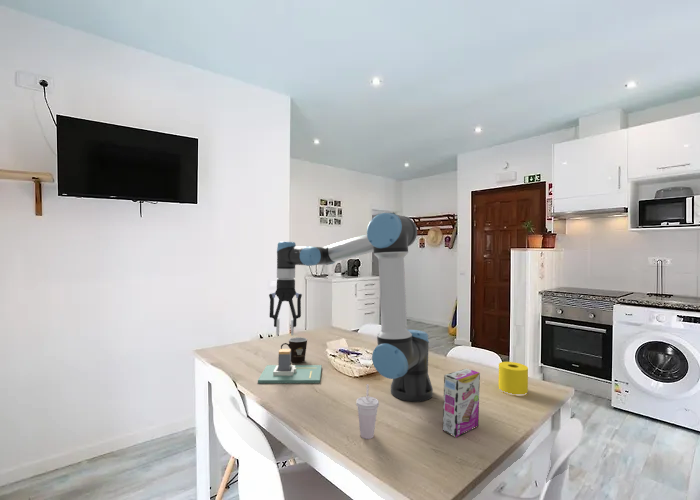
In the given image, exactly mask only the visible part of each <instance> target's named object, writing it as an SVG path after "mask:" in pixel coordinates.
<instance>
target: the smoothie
mask: <svg viewBox="0 0 700 500" xmlns="http://www.w3.org/2000/svg"><path fill="white" fill-rule="evenodd" d="M369 385H370V384H368V383H367V384H366V393H365V394H366V396H361V397H357V398H356V402H355V405H356V406H357V414H358V415H357V416H358V424H359V432H360V437H361V438H362V439H365V440H370V439H372V438H374V435H375V428H376V421H377V413H378V407H379V406H380V403H379V399H377V398H376V397H373V396H369V390H370V389H369Z"/></svg>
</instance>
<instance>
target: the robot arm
mask: <svg viewBox="0 0 700 500" xmlns="http://www.w3.org/2000/svg"><path fill="white" fill-rule="evenodd" d="M416 225H417V224H415V222H414V221H413V219H412V218H410V217H408V216H405V215H400V214H397V213H394V212H393V213H392V212H382V213H381V212H380V213H378V214H377V215H375V216H374V217H372V218H371V220H370V221H369V223H368V225H367V229H366V234H361V235H359V236H356V237H352V238H349V239H346V240H342V241H338V242H336V243H332V244H330V245H326V246H311V245H310V246H307V245H306V246H296V242H295V241H279V242H278V243H277V247H276V248H277V249H276V278H277V280H276V290H275V292H271V293H269V294H268V297H269V301H270V302H269V318H271V319H273V326H274V328H276V334H275V335H276V336H279V335H280V319H281V318H278V317H279V315H280V311H281V307H282V304H283V302H288V304H289V308H290V311H291V315H292V318H291V319H290V322H291V323H290V336H293V337H294V332H295V331H294V330H295V329H294V328H296V327H297V319H300V318H301V315H302V302H301V301H302V300H301V299H302V296H303V294H302V293H300V292H297V291H296V280H295V278H296V266H307V267H309V266H310V267H312V266H321V265H324V266H325V265H326V266H328V265H329V266H330V265H333V264H335V263H336V262H339V261H344V260H348V259H351V258H354V257H359V256H364V255H367V254H371V253H373V255H374V256H375V257H376V258H377V260H378V278H379V279H378V281H379V282H378V283H379V303H380V304H379V305H380V307H379V308H380V325H381V326H380V328H381V329H380V331H379V332H378V333H377V335H376V338H377V339H376V340H377V341H376V342H377V345H376V346H375V348H374V349H373V351H372V354H371V355H372V356H371V360H372V364H373V367H374V368H375V370H376V371H377V372H378V373H379V375H381V376H382V377H384V378H386V379H390V380H392V381H391V385H390V394H391V395H392V396H393V397H395V398H396V399H399V400H402V401H405V402H412V403H413V402H415V403H416V402H419V403H420V402H425V400H426V401H429V400H430V399H432V398H433V393H434V392H433V391H434V390H433V385H432V382H431V380H430V375H429V343H430V341H429V334H428V333H427V332H426V331H424V330H423V331H422V330H419V329H418V330H417V329H409V328H408V322H407V321H408V319H407V318H408V317H407V316H408V315H407V298H406V297H407V295H406V277H405V258H406V256H407V255H408V253H409V247H410V246H411V245H413V244H414V242H415V241H416V239H417V237H418V229H417V226H416ZM276 297H277V298H278V302H277V306H276V310H275V309H274V308H275V298H276ZM294 297H295V298H296V300H297V301H296V304H297V305H296V306H297V307H296V308H297V313H296V309H295V305H294V301H293V299H294ZM274 310H275V312H274ZM431 397H432V398H431ZM428 399H429V400H428Z"/></svg>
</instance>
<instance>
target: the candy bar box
mask: <svg viewBox="0 0 700 500" xmlns="http://www.w3.org/2000/svg"><path fill="white" fill-rule="evenodd" d="M443 378H444V379H443V405H442V409H443V410H442V431H443V430H444V431H446V432H448V433H449V434H448V433H447V434H448V435H450V434H452V435H453V436H455V437H454V438H458V437H460V436H462V435H463V434H462V433H464V432H466V431H468V430H470V431H472V430H473V429H472V428H474V427H476V426H478V427H479V423H480V422H479V417H480V413H479V412H480V387H481V386H480V382H481V380H480V378H481V373H480V372H478V371H475V370H473V369H470V368H464V369H460V370H457V371H453V372H451V373H446V374H443ZM471 429H472V430H471ZM444 431H443V432H444ZM446 432H445V433H446ZM468 432H469V431H468ZM466 433H467V432H466ZM461 434H462V435H461ZM464 434H465V433H464ZM459 435H460V436H459ZM453 436H452V437H453ZM457 436H458V437H457Z"/></svg>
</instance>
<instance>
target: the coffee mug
mask: <svg viewBox="0 0 700 500" xmlns="http://www.w3.org/2000/svg"><path fill="white" fill-rule="evenodd" d="M284 345H287V346H288V349H291V364H292V363H293V364H302V363H304V362H305V360H306V355H307V354H306V353H307V352H306V351H307V345H308V339H307V337H299V336H298V337H292V338H289V339H288V343H287V342H285V343H282V344H281V345H280V349H283V347H284Z"/></svg>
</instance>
